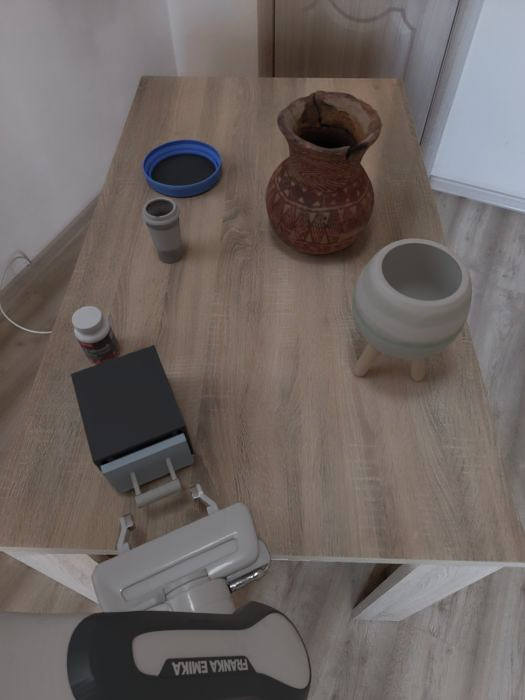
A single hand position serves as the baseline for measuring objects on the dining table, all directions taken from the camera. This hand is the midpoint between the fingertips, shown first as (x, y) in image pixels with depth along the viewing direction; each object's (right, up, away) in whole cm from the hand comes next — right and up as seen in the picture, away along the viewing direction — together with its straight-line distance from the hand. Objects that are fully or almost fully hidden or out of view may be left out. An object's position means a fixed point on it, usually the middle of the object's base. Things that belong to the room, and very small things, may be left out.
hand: (160, 501), depth 62 cm
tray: (-4, +4, +9) cm, 11 cm away
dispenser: (-6, +7, +12) cm, 15 cm away
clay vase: (+25, +45, +38) cm, 64 cm away
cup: (-5, +39, +34) cm, 52 cm away
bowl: (-5, +61, +49) cm, 78 cm away
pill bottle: (-14, +19, +21) cm, 32 cm away
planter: (+35, +18, +19) cm, 44 cm away
